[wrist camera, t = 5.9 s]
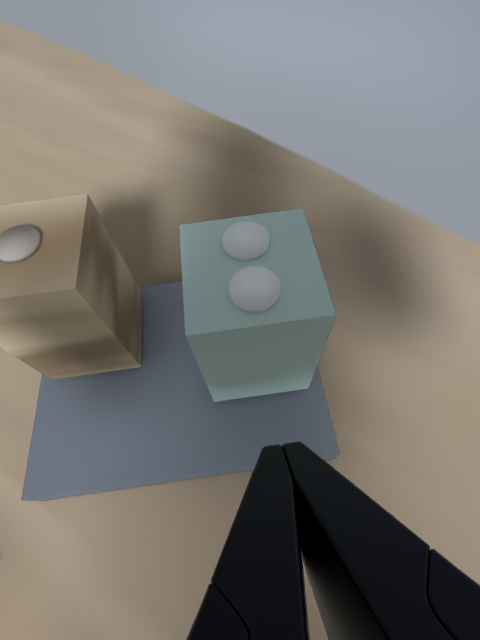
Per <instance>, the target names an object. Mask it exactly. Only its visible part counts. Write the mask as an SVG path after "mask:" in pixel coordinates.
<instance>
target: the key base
mask: <svg viewBox="0 0 480 640" xmlns="http://www.w3.org/2000/svg"><path fill="white" fill-rule="evenodd" d="M139 288H140V290H141V292H142V346H141V367H138V368H131V369H124V370H117V371H110V372H103V373H96V374H88V375H81V376H74V377H67V378H60V379H53V380H52V379H50V378H49V377H47V376H45V375H44V374H42V378H41V384H40V390H39V396H38V402H37V408H36V414H35V420H34V426H33V432H32V438H31V444H30V450H29V456H28V463H27V469H26V475H25V481H24V487H23V493H22V499H21V500H27V501H45V500H52V499H59V498H66V497H72V496H79V495H86V494H93V493H100V492H107V491H114V490H120V489H127V488H134V487H141V486H148V485H155V484H162V483H168V482H175V481H182V480H189V479H196V478H203V477H210V476H216V475H223V474H230V473H237V472H244V471H251V470H254V468H255V465H256V462H257V460H258V457H259V455H260V452H261V450H262V448H263V447H264V446H269V445H276V444H279V445H281V446H282V445H283V444H284V443H290V442H296V441H300V442H302V443H303V444H305V445H306V446H307V447H308V448H310V449H311V450H312V451H313V452H315V453H316V454H317V455H318V456H319V457H321V458H322V459H323V460H326V459H333V458H335V457H336V456H337V455H339V454H340V453H339V450H338V446H337V442H336V438H335V434H334V430H333V426H332V422H331V418H330V414H329V410H328V407H327V403H326V399H325V395H324V391H323V387H322V383H321V379H320V375H319V371H318V367H316V369H315V372H314V375H313V377H312V380H311V383H310V385H309V388H308V389H302V390H295V391H288V392H281V393H274V394H267V395H260V396H253V397H246V398H239V399H232V400H225V401H218V402H214V400H213V398H212V396H211V394H210V391H209V389H208V387H207V384H206V382H205V380H204V378H203V375H202V373H201V371H200V368H199V366H198V364H197V362H196V359H195V357H194V355H193V352H192V350H191V348H190V345H189V343H188V341H187V339H186V336H185V321H184V303H183V285H182V281H180V282H173V283H165V284H158V285H151V286H143V287H139Z"/></svg>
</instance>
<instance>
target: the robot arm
mask: <svg viewBox="0 0 480 640" xmlns="http://www.w3.org/2000/svg"><path fill="white" fill-rule="evenodd" d="M301 554H302V555H301ZM302 558H303V562H304V565H305V568H306V572H307V575H308V578H309V581H310V584H311V587H312V590H313V593H314V596H315V599H316V602H317V605H318V608H319V611H320V614H321V617H322V620H323V623H324V626H325V629H326V632H327V635H328V638H329V640H480V585H479V584H477V583H476V582H475V581H474V580H472V579H471V578H470V577H468V576H467V575H466V574H465V573H463V572H462V571H461V570H459V569H458V568H457V567H456V566H454V565H453V564H452V563H451V562H449V561H448V560H447V559H446V558H444V557H443V556H442V555H441V554H439V553H438V552H437V551H436V550H434V549H431V550H430V546H429V545H428V544H427V543H426V542H424V541H423V540H422V539H421V538H419V537H418V536H417V535H416V534H414V533H413V532H412V531H411V530H410V529H408V528H407V527H406V526H405V525H403V524H402V523H401V522H400V521H398V520H397V519H396V518H395V517H394V516H392V515H391V514H390V513H389V512H387V511H386V510H385V509H384V508H382V507H381V506H380V505H379V504H377V503H376V502H375V501H374V500H373V499H371V498H370V497H369V496H368V495H366V494H365V493H364V492H363V491H361V490H360V489H359V488H358V487H356V486H355V485H354V484H353V483H352V482H350V481H349V480H348V479H347V478H345V477H344V476H343V475H342V474H340V473H339V472H338V471H337V470H336V469H334V468H333V467H332V466H331V465H329V464H328V463H327V462H326V461H324V460H323V459H322V458H321V457H319V456H318V455H317V454H316V453H315V452H313V451H312V450H311V449H310V448H308V447H307V446H306V445H305V444H303V443H302V442H300V441H296V442H290V443H284V444H283V445H282V446H281V445H279V444H276V445H269V446H264V447H263V448H262V450H261V452H260V455H259V457H258V460H257V462H256V465H255V468H254V470H253V473H252V475H251V478H250V481H249V483H248V486H247V488H246V491H245V493H244V496H243V499H242V501H241V504H240V506H239V509H238V511H237V514H236V517H235V519H234V522H233V524H232V527H231V529H230V532H229V535H228V537H227V540H226V542H225V545H224V548H223V550H222V553H221V555H220V558H219V560H218V563H217V566H216V568H215V571H214V573H213V576H212V578H211V583H210V584H209V586H208V588H207V591H206V593H205V596H204V598H203V601H202V604H201V606H200V609H199V611H198V613H197V616H196V618H195V621H194V623H193V625H192V628H191V630H190V632H189V635H188V637H187V639H186V640H310V634H309V624H308V614H307V604H306V594H305V584H304V573H303V564H302Z"/></svg>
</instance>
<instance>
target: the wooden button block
mask: <svg viewBox="0 0 480 640" xmlns="http://www.w3.org/2000/svg"><path fill="white" fill-rule="evenodd" d="M141 346H142V292H141V290H140V288H139V287H138V285H137V283H136V281H135V279H134V277H133V276H132V274H131V272H130V270H129V268H128V267H127V265H126V263H125V261H124V259H123V257H122V256H121V254H120V252H119V250H118V248H117V246H116V245H115V243H114V241H113V239H112V237H111V236H110V234H109V232H108V230H107V228H106V226H105V225H104V223H103V221H102V219H101V217H100V216H99V214H98V212H97V210H96V208H95V206H94V205H93V203H92V201H91V199H90V197H89V195H88V194H84V195H77V196H69V197H62V198H54V199H47V200H39V201H32V202H24V203H17V204H9V205H2V206H0V347H1V348H2V349H4V350H6V351H7V352H9V353H10V354H12V355H14V356H15V357H17V358H18V359H20V360H22V361H23V362H25V363H26V364H28V365H30V366H31V367H33V368H34V369H36V370H38V371H39V372H41V373H42V374H44V375H45V376H47V377H49V378H50V379H52V380H53V379H60V378H67V377H74V376H81V375H88V374H96V373H103V372H110V371H117V370H124V369H131V368H138V367H141Z"/></svg>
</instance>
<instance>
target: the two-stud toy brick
mask: <svg viewBox="0 0 480 640" xmlns="http://www.w3.org/2000/svg"><path fill="white" fill-rule="evenodd" d="M179 231H180V249H181V267H182V285H183V303H184V321H185V336H186V339H187V341H188V343H189V345H190V348H191V350H192V352H193V355H194V357H195V359H196V362H197V364H198V366H199V368H200V371H201V373H202V375H203V378H204V380H205V382H206V384H207V387H208V389H209V391H210V394H211V396H212V398H213V400H214V402H218V401H225V400H232V399H239V398H246V397H253V396H260V395H267V394H274V393H281V392H288V391H295V390H302V389H308V388H309V385H310V383H311V380H312V377H313V375H314V372H315V369H316V367H317V364H318V361H319V359H320V356H321V353H322V351H323V348H324V345H325V343H326V340H327V338H328V335H329V332H330V330H331V327H332V324H333V322H334V319H335V316H336V313H335V310H334V306H333V303H332V300H331V297H330V294H329V290H328V287H327V284H326V281H325V277H324V274H323V271H322V268H321V264H320V261H319V258H318V255H317V252H316V248H315V245H314V242H313V239H312V235H311V232H310V229H309V226H308V222H307V219H306V216H305V213H304V209H303V208H300V209H293V210H285V211H278V212H270V213H263V214H256V215H248V216H241V217H233V218H226V219H219V220H211V221H204V222H196V223H189V224H182V225H179Z"/></svg>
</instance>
